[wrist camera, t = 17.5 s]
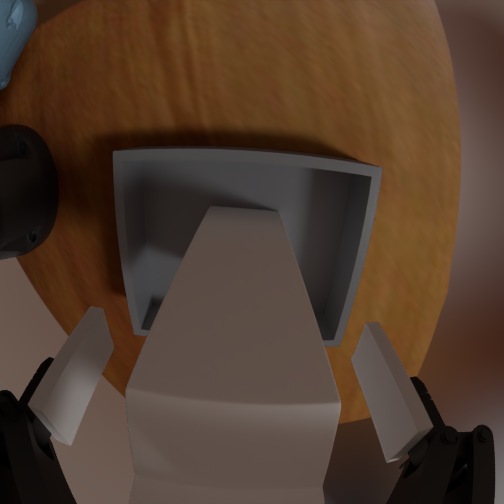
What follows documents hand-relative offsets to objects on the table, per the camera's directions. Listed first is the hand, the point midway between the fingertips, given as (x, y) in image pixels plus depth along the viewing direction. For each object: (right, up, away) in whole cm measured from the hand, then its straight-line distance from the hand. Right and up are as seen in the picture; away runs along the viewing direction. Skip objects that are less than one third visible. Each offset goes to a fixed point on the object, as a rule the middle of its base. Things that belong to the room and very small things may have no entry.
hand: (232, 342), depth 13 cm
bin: (0, +5, +13) cm, 14 cm away
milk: (0, +5, +12) cm, 13 cm away
